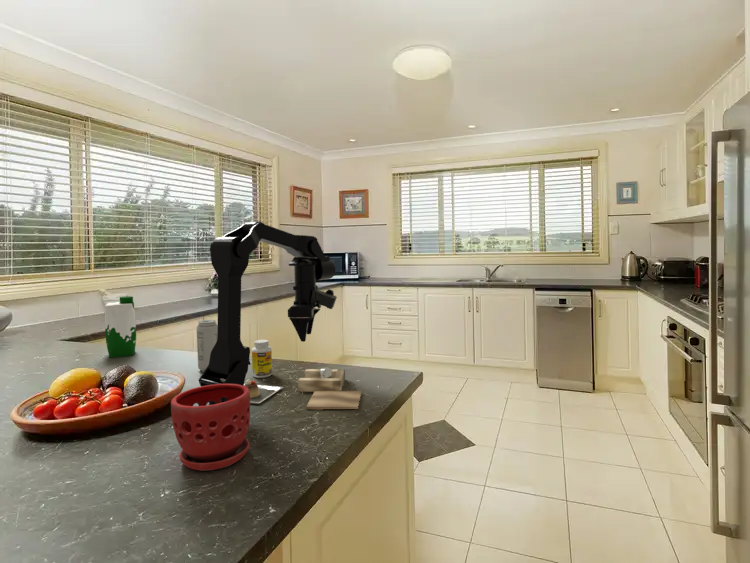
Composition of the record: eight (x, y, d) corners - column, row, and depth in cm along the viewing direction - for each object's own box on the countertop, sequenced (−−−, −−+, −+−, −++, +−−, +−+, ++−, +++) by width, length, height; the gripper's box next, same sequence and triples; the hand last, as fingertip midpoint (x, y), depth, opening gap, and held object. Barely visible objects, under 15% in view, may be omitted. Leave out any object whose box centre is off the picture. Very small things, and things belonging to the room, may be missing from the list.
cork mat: (357, 409, 99) (357, 407, 99) (306, 409, 100) (306, 406, 100) (361, 393, 110) (361, 391, 110) (314, 392, 110) (314, 390, 110)
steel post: (330, 387, 115) (330, 370, 114) (319, 387, 115) (319, 370, 115) (332, 383, 118) (332, 367, 117) (321, 383, 118) (321, 367, 118)
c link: (344, 379, 121) (344, 369, 121) (340, 392, 111) (340, 380, 111) (306, 379, 122) (305, 369, 121) (298, 391, 112) (298, 380, 111)
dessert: (283, 391, 114) (283, 373, 113) (259, 407, 102) (259, 388, 102) (243, 387, 117) (243, 370, 116) (216, 403, 105) (215, 383, 105)
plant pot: (259, 440, 84) (257, 380, 83) (240, 476, 71) (238, 406, 70) (191, 441, 84) (188, 381, 82) (160, 478, 70) (156, 407, 69)
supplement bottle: (255, 379, 121) (254, 344, 120) (249, 374, 126) (248, 340, 125) (274, 376, 124) (274, 341, 124) (268, 371, 129) (267, 338, 128)
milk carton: (136, 355, 148) (133, 298, 146) (105, 358, 144) (101, 299, 142) (138, 350, 156) (135, 295, 154) (108, 352, 152) (105, 296, 150)
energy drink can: (219, 371, 129) (218, 322, 128) (198, 373, 127) (196, 323, 126) (219, 366, 135) (217, 319, 134) (198, 368, 133) (196, 320, 131)
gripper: (330, 285, 109) (331, 345, 110) (337, 278, 128) (338, 330, 129) (286, 285, 109) (288, 345, 111) (300, 279, 128) (301, 330, 129)
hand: (306, 337), depth 120 cm, fingers open, 9 cm apart
